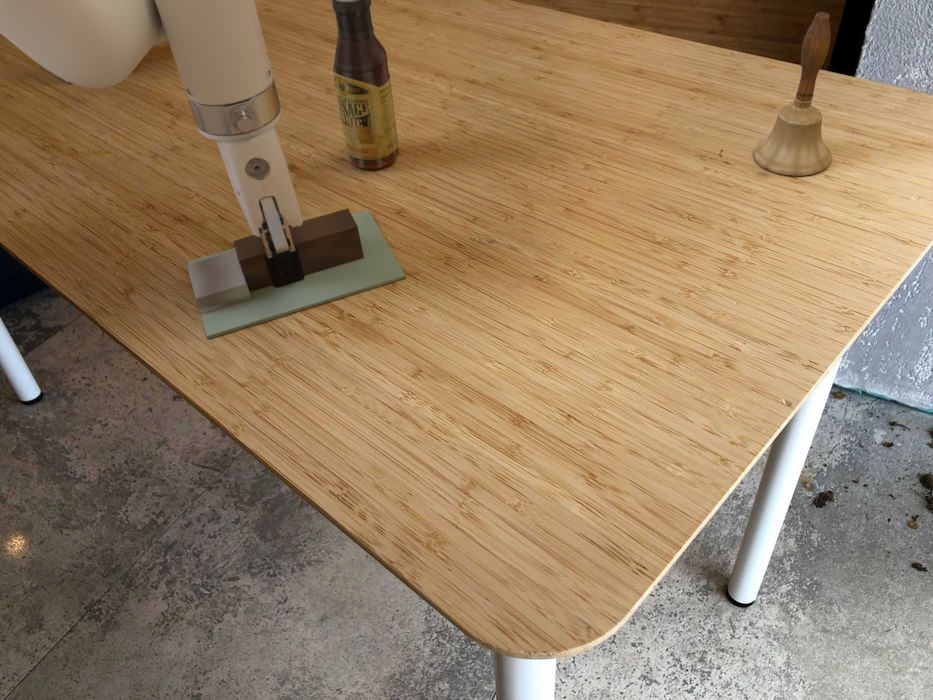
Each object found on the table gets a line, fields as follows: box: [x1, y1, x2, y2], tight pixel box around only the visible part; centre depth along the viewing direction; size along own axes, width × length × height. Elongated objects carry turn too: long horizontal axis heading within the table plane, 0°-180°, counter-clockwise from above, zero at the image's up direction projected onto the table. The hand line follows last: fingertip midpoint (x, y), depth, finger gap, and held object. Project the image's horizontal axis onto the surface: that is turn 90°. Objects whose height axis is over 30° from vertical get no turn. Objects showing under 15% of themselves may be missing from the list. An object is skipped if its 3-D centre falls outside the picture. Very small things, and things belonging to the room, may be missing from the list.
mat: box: [187, 209, 407, 340], centre depth 87 cm, size 20×13×1 cm, turn 112°
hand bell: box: [752, 11, 833, 177], centre depth 90 cm, size 8×8×16 cm
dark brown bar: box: [186, 208, 364, 314], centre depth 85 cm, size 17×6×4 cm, turn 112°
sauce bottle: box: [331, 0, 399, 171], centre depth 95 cm, size 7×6×20 cm
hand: (284, 268), depth 86 cm, fingers closed on dark brown bar, 3 cm apart
